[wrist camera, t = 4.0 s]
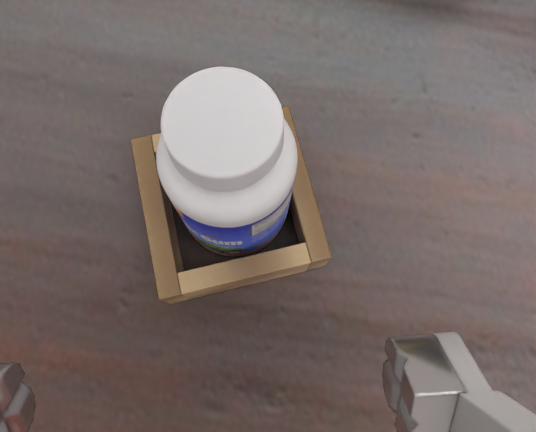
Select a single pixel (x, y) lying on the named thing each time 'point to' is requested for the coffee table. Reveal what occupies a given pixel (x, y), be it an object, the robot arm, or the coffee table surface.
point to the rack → (233, 271)
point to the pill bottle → (227, 159)
